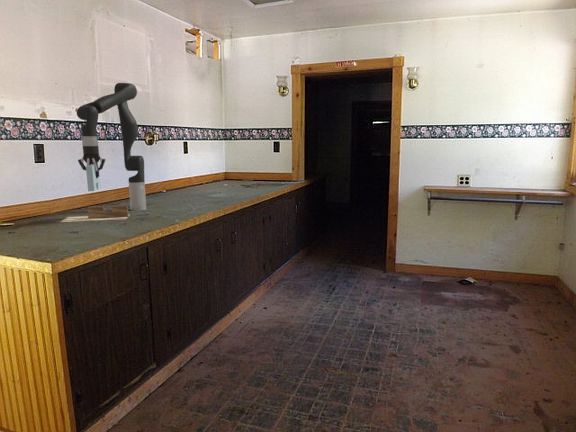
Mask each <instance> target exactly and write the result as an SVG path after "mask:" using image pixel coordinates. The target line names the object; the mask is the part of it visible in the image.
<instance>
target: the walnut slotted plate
mask: <svg viewBox="0 0 576 432" xmlns="http://www.w3.org/2000/svg"><path fill="white" fill-rule="evenodd" d="M128 214H129V207H128V205H111V211H105V206H104V205H103V206H88V207H87V216H88V219H91V218H115V217H127V218H129V216H128Z"/></svg>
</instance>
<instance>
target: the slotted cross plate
mask: <svg viewBox="0 0 576 432" xmlns="http://www.w3.org/2000/svg"><path fill="white" fill-rule="evenodd" d="M85 167H86V170H85V172H86V181H87V191H88V192H96V191H97V190H99V189H101V178H100V176H99V177H98V178H96V173H95V171H96V170H95V165H93V164H91V165H88V166H87V165H86V166H85ZM99 167H100V165H98V168H99Z"/></svg>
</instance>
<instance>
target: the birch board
mask: <svg viewBox="0 0 576 432" xmlns="http://www.w3.org/2000/svg"><path fill="white" fill-rule="evenodd" d="M130 215H131V214H130V213H128V217H130ZM128 217H115V218H91V219H88V215H81V216H80V215H77V216H76V215H75V216H67V217H66V218H64V219H62V220H60V223H67V222H69V223H70V222H88V221H89V222H93V221H94V222H95V221H116V220H117V221H118V220H127V219H128Z"/></svg>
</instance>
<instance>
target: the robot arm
mask: <svg viewBox="0 0 576 432" xmlns="http://www.w3.org/2000/svg"><path fill="white" fill-rule="evenodd" d="M113 91H114V93H111V94H107V95H103V96H101V97H98V98H96V99H95V100H94V101H91V102H88V103H85V104H83V105H80V106H79V107H78V108H77V110H76V115H77V118H78V119H80V120H82V121H86V122H85V124H83V125H82V126H81V136H82V137H81V138H82V139H81V142H82V143H81V144H82V153H83V155H82V158H80V159H77V161H78V164H79V166H80V167H81V169H82V170H83V171H86V166H88V165H91V164H93V165H95V170H96V171H95V173H96V178H98V177H100V170H103V169H104V165H105V163H106V158H102V157H101V156H100V152H99V151H100V150H99V139H98V134H97V133H98V131H97V126H98V120H99V114H102V113H105V112H106V111H108V110H110V109H112V108H114V107H117V111H118V117H119V118H118V119H119V126H120V131H121V138H122V147H123V162H124V167H125V170H126V171H127V172H137V173H136V174H134V175H133V176H129V178H128V191H129V205H130V211H133V212H141V211H146V210H147V198H146V185H145V182H146V181H145V160H144V156H142V155H131V152H132V150H131V149H132V147H133V144H134V143H135V141H136V139H137V137H138V134H139V131H138V123H137V119H135V117H134V115H133V114H132V112H131V111H130V109H129V105H128V101H131V100H134V99H135V98H136V97H137V95H138V88H137V86H136V85H134V84H133V83H130V82H117V83H115V85H114V90H113ZM99 161H100V165H99ZM84 162H85V163H86V166H85V164H84ZM98 166H99V168H98Z"/></svg>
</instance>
